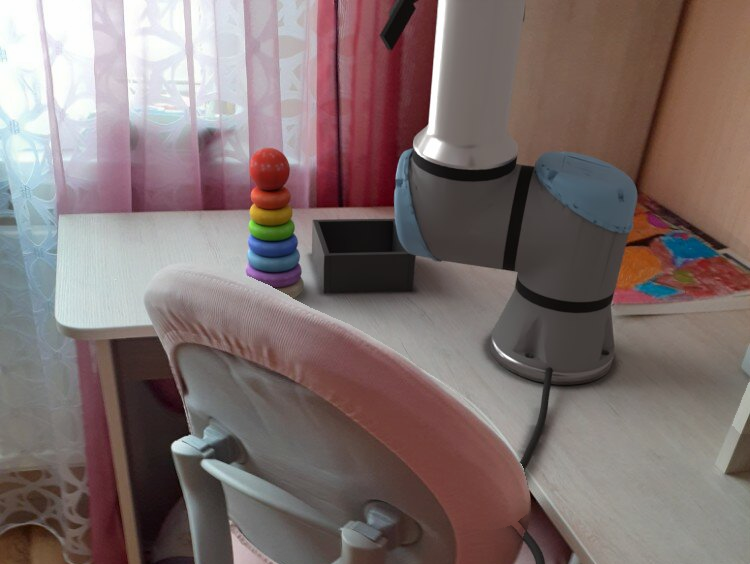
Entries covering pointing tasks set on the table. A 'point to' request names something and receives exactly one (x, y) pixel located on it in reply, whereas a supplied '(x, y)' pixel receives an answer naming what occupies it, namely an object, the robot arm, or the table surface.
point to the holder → (361, 256)
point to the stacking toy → (272, 225)
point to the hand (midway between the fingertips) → (425, 53)
